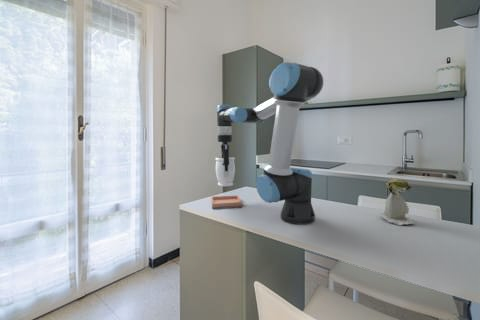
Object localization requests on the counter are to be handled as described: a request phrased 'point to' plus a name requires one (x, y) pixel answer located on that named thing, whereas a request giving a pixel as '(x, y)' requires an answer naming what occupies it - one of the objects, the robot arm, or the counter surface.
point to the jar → (220, 171)
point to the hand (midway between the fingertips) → (225, 175)
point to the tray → (226, 201)
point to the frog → (397, 203)
